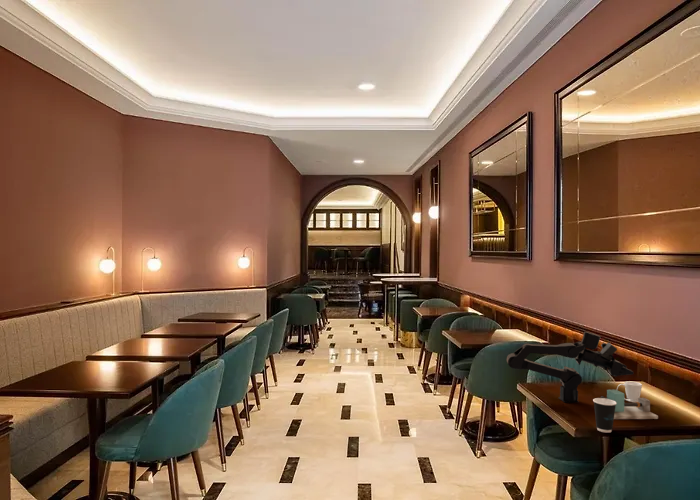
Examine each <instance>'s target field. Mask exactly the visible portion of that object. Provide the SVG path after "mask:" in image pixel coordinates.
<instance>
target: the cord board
mask: <svg viewBox="0 0 700 500" xmlns="http://www.w3.org/2000/svg"><path fill="white" fill-rule="evenodd" d="M600 398H605V399H607V397H605V396H604V395H600ZM653 419H654V420H658V419H659V415H657V414H655V413H653V412H651V400H649V399H647V398H645V397H639V398H638V402H624V412H615V414H614V420H653Z"/></svg>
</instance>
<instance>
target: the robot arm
mask: <svg viewBox="0 0 700 500" xmlns="http://www.w3.org/2000/svg"><path fill="white" fill-rule="evenodd" d="M601 337H602V336H601V335H599V334H596V333H593V332H588V331H584V332H583V334H582V338H581V341H577V342H574V343H571V342H565V343H560V344H538V343H537V344H535V343H528V342H527V343H524V344H523V345H522V346H521V347H519V348H517V349H516V350H515V351H514V352H512V353H511V352H510V354H509V353H508V355H507V356H506V362H507V363H506V364H507V365H508V366H509V367H510V368H511V369H513V370H528V371H531V372H536V373H539V374H542V375H546V376H550V377H553V378H557V379H559V381H560V384H561V385H560V388H559V396H558V398H557V399H559V400H560V401H562V402H563V403H567V404H568V403H569V404H570V403H573V404H574V403H579V402H580V401H579V391H578V387H579V385H581V384H582V382H583V378H582V375H581V374H580V373H579V372H578V371H577V370H576V369H575V368H574V367H569V366H565V365H564V367H563V368H557V367H553V366H550V365H547V364H542V363H539V362H536V361H532V360H529V359H527V357H528V356H529V355H531V354H539V355H557V356H561V357H564V358H569V359H570V358H571V359H574V360H575V362H576V363H577V364H578V365H581V364H582V362H584V363H586V364H590V365H593V366H594V367H596V368H597V367H599V368H601V369H604V370H605V371H608V373H609V374H610V376H613V377H618V376H619V377H620V376H628V375H630V376H631V375H634V371H633V370H632V369H628V368H627V367H628V366H627V365H625V364H624V363H622V362H620V361H618V360H616V359H615V357H614V353H615V352H617V351H618V348H616V347H615V346H614V345H613V344H612V343H611V342H606V343H605V342H603V343H601V345H600V346H601V351H598V350H597V351H594V350H596V349H598V346H599V343H600V340H601Z"/></svg>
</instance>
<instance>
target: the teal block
mask: <svg viewBox="0 0 700 500" xmlns="http://www.w3.org/2000/svg"><path fill="white" fill-rule="evenodd" d="M606 398H607V399H610V400H613V401H615V402H616V403H617V404H616V407H615V412H624V403H625V399H624V398H625V393H624V392H622V391H619V390H617V389H606Z"/></svg>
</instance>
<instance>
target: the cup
mask: <svg viewBox="0 0 700 500" xmlns="http://www.w3.org/2000/svg"><path fill="white" fill-rule="evenodd" d="M620 386H623V387H624V388H625V395H626V398H625V397H624V401H627V402H628V403H635V402H638V398H641V392H642V387H643V384H642V383H640V382H639V381H630V380H629V381H627V380H626V381H624V383H619V384H618V385H617V387H616V390H618V389H619V387H620ZM618 391H619V390H618Z"/></svg>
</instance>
